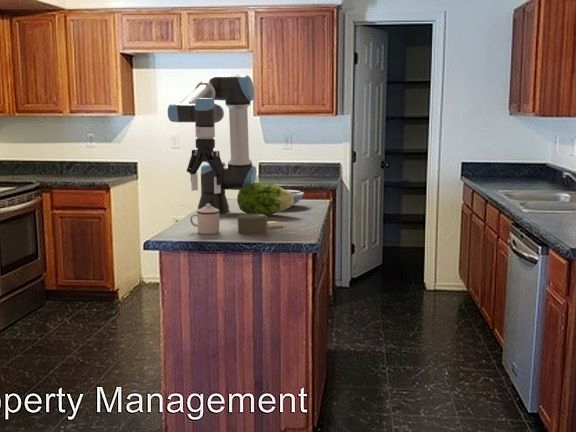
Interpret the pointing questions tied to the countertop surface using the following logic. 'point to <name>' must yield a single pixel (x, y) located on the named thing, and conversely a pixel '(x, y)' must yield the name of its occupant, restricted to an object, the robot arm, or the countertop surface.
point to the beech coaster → (274, 224)
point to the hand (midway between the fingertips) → (205, 191)
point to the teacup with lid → (207, 220)
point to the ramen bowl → (296, 195)
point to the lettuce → (264, 198)
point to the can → (252, 224)
